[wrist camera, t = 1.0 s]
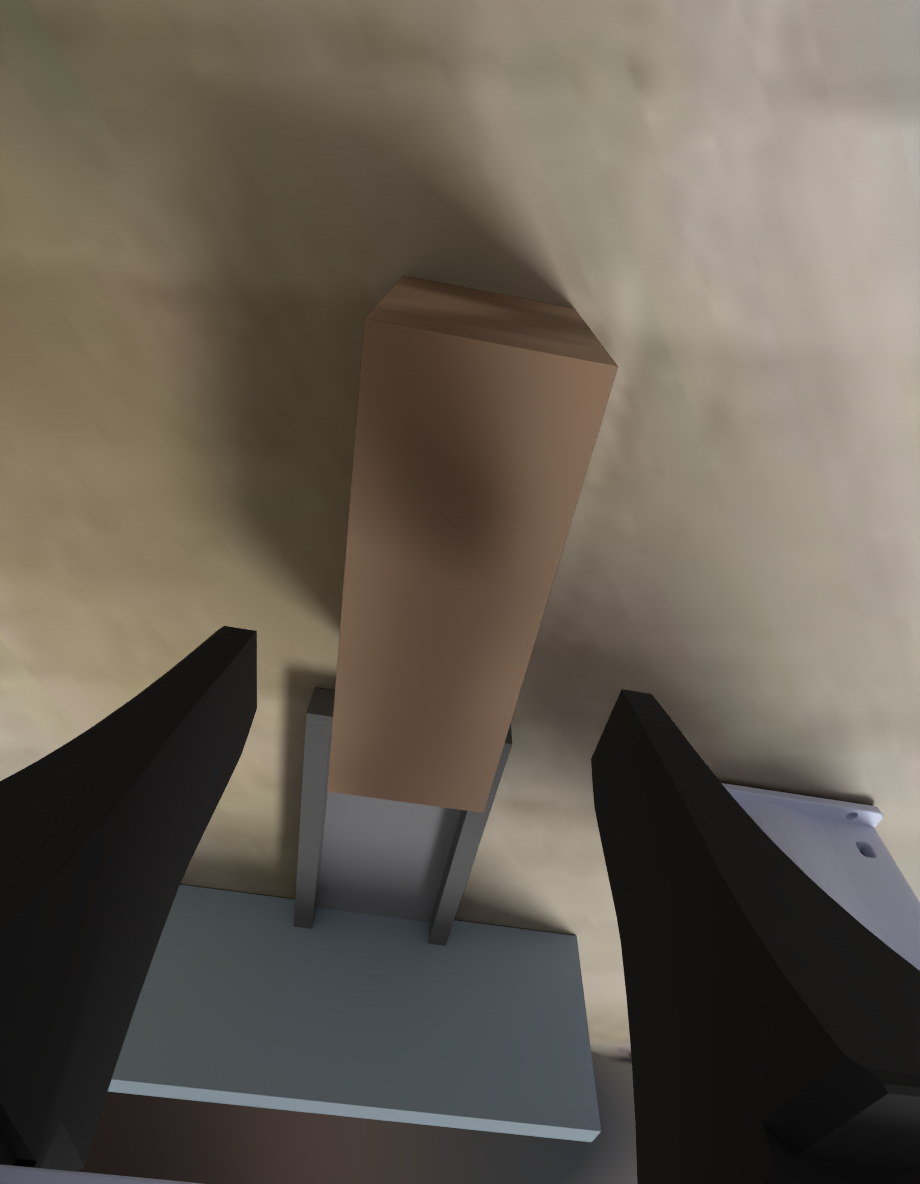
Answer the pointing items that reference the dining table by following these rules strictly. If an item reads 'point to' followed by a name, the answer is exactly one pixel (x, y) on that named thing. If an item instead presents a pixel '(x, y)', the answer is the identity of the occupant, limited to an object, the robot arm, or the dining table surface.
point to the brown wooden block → (455, 530)
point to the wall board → (366, 982)
